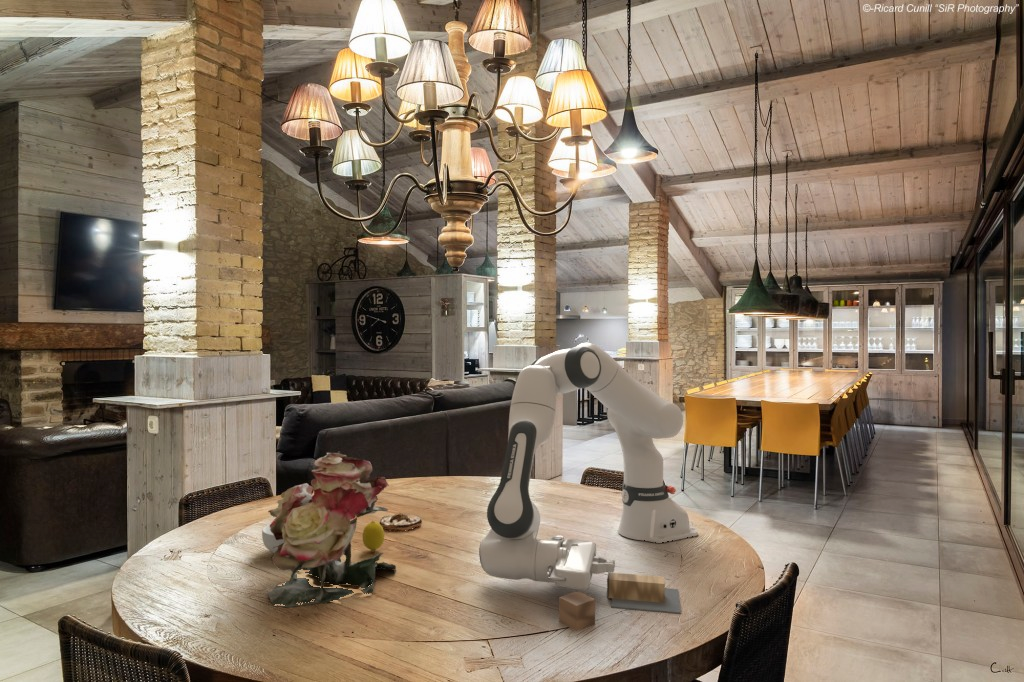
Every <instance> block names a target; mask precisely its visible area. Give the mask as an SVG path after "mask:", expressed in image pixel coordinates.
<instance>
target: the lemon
mask: <svg viewBox="0 0 1024 682" xmlns="http://www.w3.org/2000/svg"><path fill="white" fill-rule="evenodd" d="M384 539H385V531H384V529H383V527H382V526H381V525H380V522H377V521H375V520H372V521H370V522H369V523H367V524H366V525H365V527H364V528H363V531H362V542H363V545H364V547H366V549H368V550H370V551H371V552H373V551H374V552H375V551H376V550H377V549H379V548H381V546H382V545H383V544H384V541H385V540H384Z"/></svg>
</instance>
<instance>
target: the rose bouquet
mask: <svg viewBox="0 0 1024 682" xmlns="http://www.w3.org/2000/svg"><path fill="white" fill-rule="evenodd" d="M313 464H314V466H316V467H318V468H316V469H312V470H311V472H312V475H313V477H315V478H313V479H311V481H310V484H311V485H309V483H307V482H306V483H305V482H304V483H302V484H298V485H294V486H293V487H290V488H289V487H288V488H287V489H286V491H283V492H282V493H281V494H280V497H281V499H279V500H277V501H276V503H278V505H277V507H276V508H273V509H272V508H271V509H269V510H268V511H267V512H268V513H269V514H270V515H271V516H272V517H273V518H274V519H273V520H272V522H271V523H270V531H271V532H272V533H273V534H274V536H275V538H276V540H282V539H284V540H285V541H284V543H282V544H281V545H279V546H275V547H278V549H277V551H275V553H273V555H272V557H271V560H272V564H273V565H274V566H275V567H276V568H277V569H279V570H282V571H287V570H288V571H289V570H290V571H291V572H292V573H293V574H292V575H291V576H290V578H289V580H286V581H283V582H282V583H285V582H286V583H285V585H283V584H282V586H277V585H275V586H276V587H273V588H272V589H270V591H268V592H267V593H266V594H267V595H268V597H269V599H270V602H271V603H272V606H273V605H275V604H280V605H281V604H283V605H285V606H280V607H281V608H290V607H291V608H292V607H301V606H307V605H314V604H315V605H316V604H328V603H327V602H330V601H333V600H338V599H339V598H340V597H344V596H346V595H349V594H352V593H354V592H353V591H352V590H348V589H343V588H337V587H336V588H323V586H324V584H325V583H324V582H329V583H328V585H329V584H333V585H339V584H346V583H348V584H351V585H350V586H352V585H361V588H365V589H363V590H361V591H362V592H363V593H364V594H365V593H366V594H367V593H368V594H369V593H372V594H373V592H374V587H375V583H376V582H377V580H376V570H394V574H395V573H396V570H397V566H396V564H392V563H387V562H384V561H382V562H378V561H379V560H380V557H382V555H383V554H384V552H380V553H378V554H377V555H375V556H372V557H369V558H366V559H362V560H360V561H358V562H354V563H353V562H352V561H351V560H352V544H351V541H352V539H353V537H354V534H355V532H356V528H357V525H358V524H357V523H358V518H361V517H362V516H366V515H371V514H376V513H377V512H381V511H382V512H388V511H389V508H387V507H385V506H375V503H377V502H378V500H379V499H378V495H379V494H380V493H381V492H382V491H384V489H386V488H387V487H389V485H390V484H389V483H388V481H387V479H386V477H385V476H378V477H373V478H370V477H371V476H370V475H371V473H372V472H373V466H372V464H371V461H369V460H365V459H359V458H356V457H352V456H351V457H350V456H348V455H347V454H342V453H341V452H326V455H324V456H322V457H319V458H317V459H316V460H315V461H314V463H313ZM275 547H273V548H275ZM287 555H289V556H290V557H286V556H287ZM343 555H344V556H345V560H344V561H342V560H341V558H342V556H343ZM301 569H303V570H310V571H309V572H305V573H309V574H312V575H313V576H317V577H319V578H317V580H318V581H321V583H320V586H321V588H320V587H313V586H311V585H310V584H309V582H308V581H309V579H306V578H297V574H296V573H298V572H297V571H298V570H301ZM312 575H311V576H312ZM313 576H312V577H313ZM318 581H317V582H318ZM372 582H373V583H372ZM371 584H372V585H371ZM369 585H370V586H369ZM339 586H340V585H339ZM368 586H369V587H368ZM312 599H315V600H314V602H310V601H311V600H312ZM312 601H313V600H312ZM297 602H298V603H300V602H301V603H302V602H303V604H302V605H301V603H300V605H298V604H296V603H297ZM305 602H306V603H305ZM308 602H309V603H308Z"/></svg>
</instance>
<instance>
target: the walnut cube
mask: <svg viewBox="0 0 1024 682" xmlns="http://www.w3.org/2000/svg"><path fill="white" fill-rule="evenodd" d="M558 623H560V624H561V625H563V626H565V627H567V628H569V629H571V630H573V631H574V632H579V631H582V630H584V629H586V628H588V627H592V626H593V625H595V624H596V598H593V597H592V596H589V595H587V594H585V593H583V592H581V591H578V590H577V591H573V592H569V593H568V594H564V595H562V596H558Z"/></svg>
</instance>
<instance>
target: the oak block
mask: <svg viewBox="0 0 1024 682" xmlns="http://www.w3.org/2000/svg"><path fill="white" fill-rule="evenodd" d="M665 583H666V582H665V576H658V575H646V574H645V575H644V574H632V573H621V572H607V577H606V598H607V599H612V598H615V599H626V600H638V601H649V602H660V603H665V588H666V587H665Z"/></svg>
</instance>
